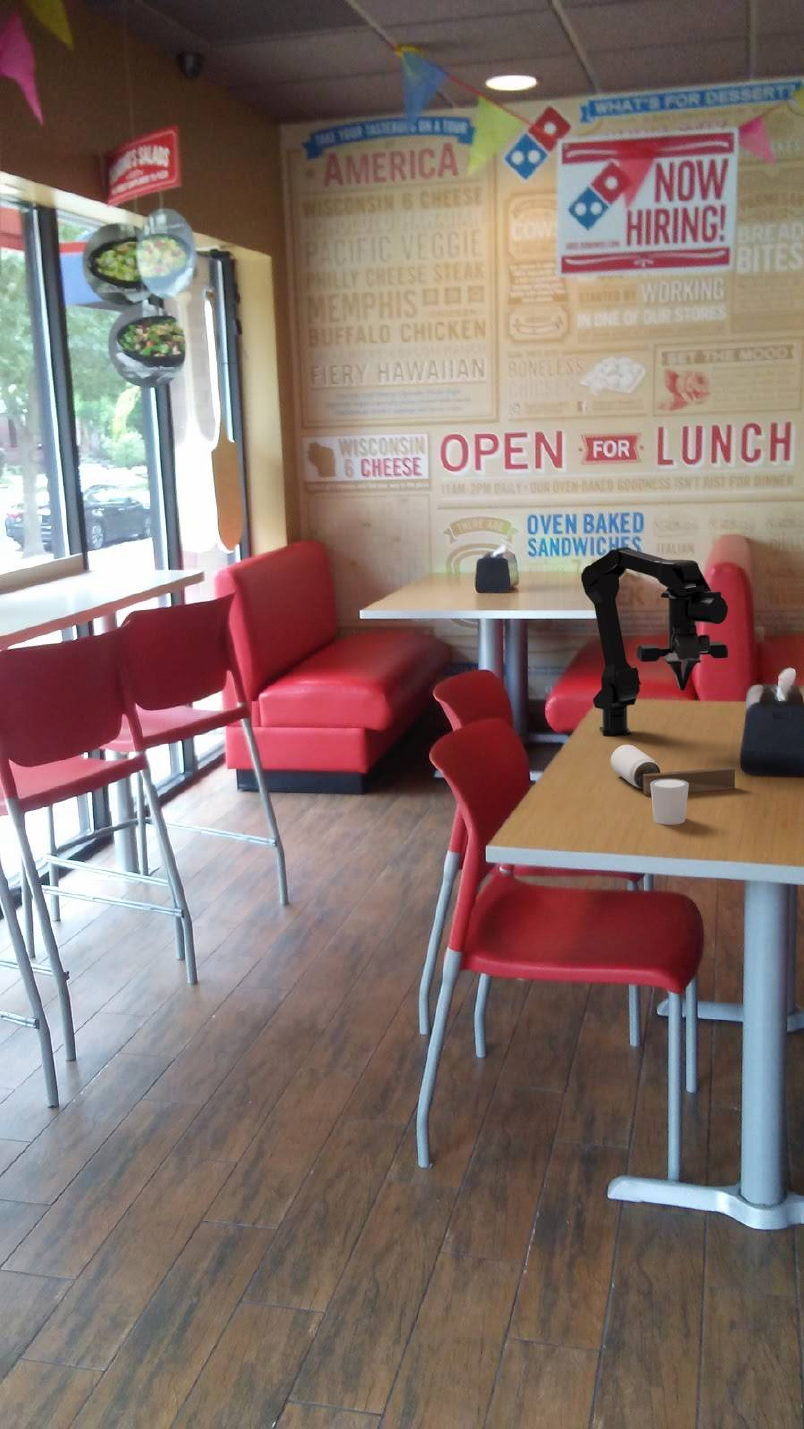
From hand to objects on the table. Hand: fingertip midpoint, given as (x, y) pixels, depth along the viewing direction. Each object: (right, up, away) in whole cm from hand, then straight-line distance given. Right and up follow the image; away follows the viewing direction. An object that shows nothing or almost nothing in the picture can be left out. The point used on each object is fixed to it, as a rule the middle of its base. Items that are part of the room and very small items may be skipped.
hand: (682, 690), depth 281 cm
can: (-15, -14, -16) cm, 26 cm away
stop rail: (-5, -20, -29) cm, 36 cm away
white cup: (-12, -25, -46) cm, 53 cm away
